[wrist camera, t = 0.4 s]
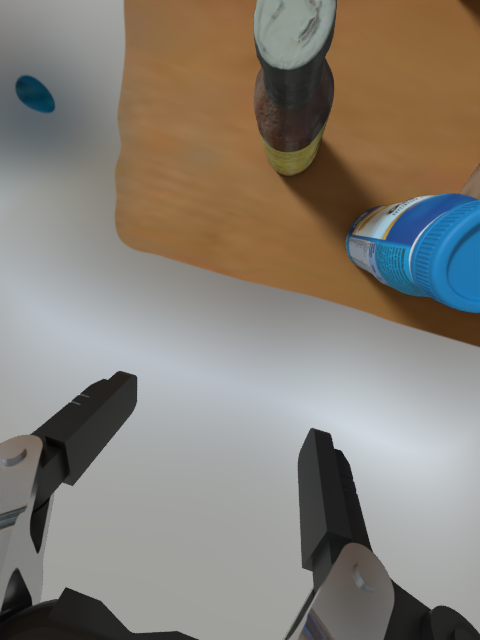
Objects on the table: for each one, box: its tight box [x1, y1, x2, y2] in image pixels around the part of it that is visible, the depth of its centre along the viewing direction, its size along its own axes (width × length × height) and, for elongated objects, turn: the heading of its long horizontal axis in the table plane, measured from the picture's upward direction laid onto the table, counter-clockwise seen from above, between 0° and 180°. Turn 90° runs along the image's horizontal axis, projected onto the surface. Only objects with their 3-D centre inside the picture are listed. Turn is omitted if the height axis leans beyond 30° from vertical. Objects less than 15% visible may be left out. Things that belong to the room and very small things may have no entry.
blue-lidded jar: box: [346, 194, 480, 313], centre depth 22 cm, size 8×8×20 cm
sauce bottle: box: [253, 0, 337, 176], centre depth 20 cm, size 6×6×20 cm
